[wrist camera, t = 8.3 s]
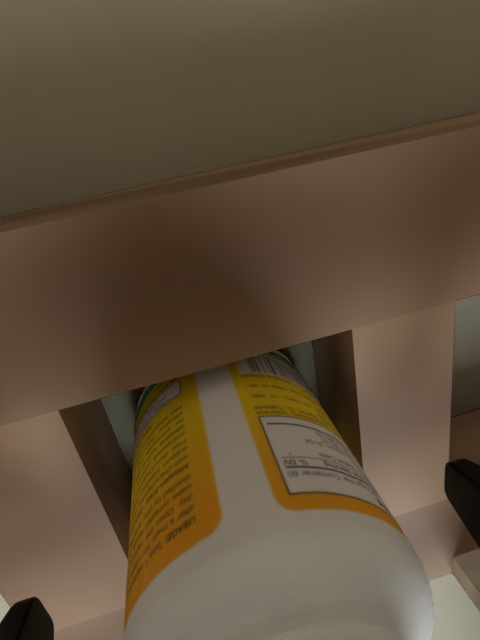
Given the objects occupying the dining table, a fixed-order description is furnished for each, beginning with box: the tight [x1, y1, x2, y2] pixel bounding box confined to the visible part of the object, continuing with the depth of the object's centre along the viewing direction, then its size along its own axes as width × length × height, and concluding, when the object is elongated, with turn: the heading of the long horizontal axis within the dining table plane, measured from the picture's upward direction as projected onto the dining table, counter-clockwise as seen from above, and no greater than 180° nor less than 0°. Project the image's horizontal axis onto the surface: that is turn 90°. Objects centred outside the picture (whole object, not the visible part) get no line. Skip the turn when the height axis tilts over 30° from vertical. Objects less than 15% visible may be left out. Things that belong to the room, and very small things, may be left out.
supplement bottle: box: [123, 350, 434, 640], centre depth 9 cm, size 5×5×10 cm
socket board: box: [0, 112, 480, 640], centre depth 10 cm, size 14×22×7 cm, turn 101°
